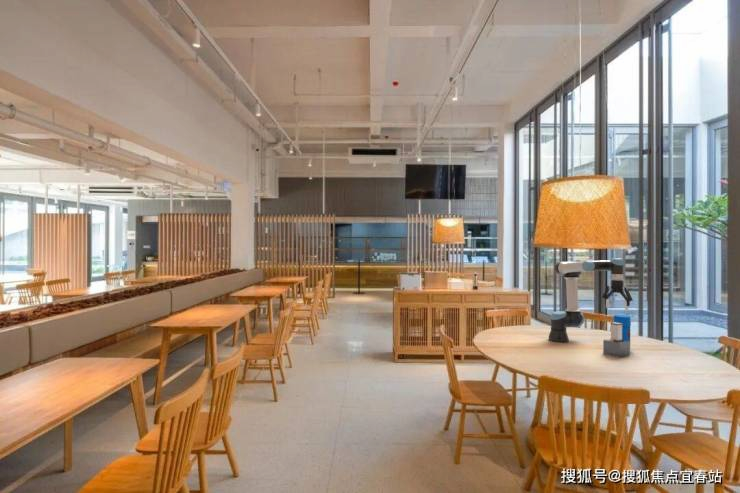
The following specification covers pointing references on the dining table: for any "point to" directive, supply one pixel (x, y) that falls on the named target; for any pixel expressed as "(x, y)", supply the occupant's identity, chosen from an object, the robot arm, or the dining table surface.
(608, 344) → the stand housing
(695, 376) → the dining table surface
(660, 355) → the dining table surface
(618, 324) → the column
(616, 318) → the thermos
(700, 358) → the dining table surface
